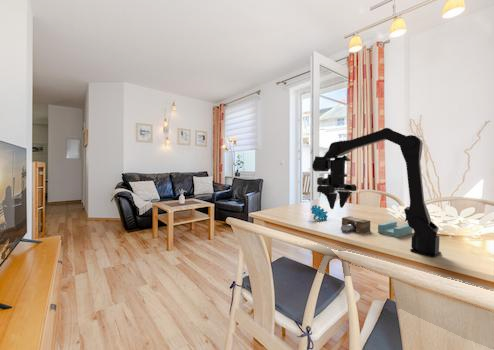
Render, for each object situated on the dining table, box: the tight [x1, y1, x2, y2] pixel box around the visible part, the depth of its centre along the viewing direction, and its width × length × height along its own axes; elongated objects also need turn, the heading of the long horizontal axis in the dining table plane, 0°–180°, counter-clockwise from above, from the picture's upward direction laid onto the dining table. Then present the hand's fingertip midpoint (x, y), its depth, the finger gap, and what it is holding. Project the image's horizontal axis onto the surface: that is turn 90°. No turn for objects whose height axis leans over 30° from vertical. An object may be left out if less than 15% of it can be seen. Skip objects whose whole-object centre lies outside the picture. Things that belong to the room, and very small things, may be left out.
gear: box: [310, 204, 328, 222], centre depth 122 cm, size 11×6×10 cm
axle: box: [340, 223, 356, 233], centre depth 102 cm, size 12×3×3 cm, turn 120°
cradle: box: [377, 220, 413, 238], centre depth 98 cm, size 8×12×4 cm, turn 120°
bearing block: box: [341, 215, 371, 234], centre depth 103 cm, size 10×6×5 cm, turn 30°
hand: (336, 208), depth 96 cm, fingers open, 6 cm apart
